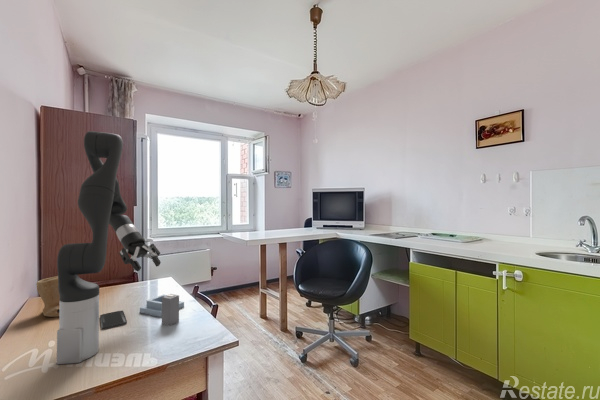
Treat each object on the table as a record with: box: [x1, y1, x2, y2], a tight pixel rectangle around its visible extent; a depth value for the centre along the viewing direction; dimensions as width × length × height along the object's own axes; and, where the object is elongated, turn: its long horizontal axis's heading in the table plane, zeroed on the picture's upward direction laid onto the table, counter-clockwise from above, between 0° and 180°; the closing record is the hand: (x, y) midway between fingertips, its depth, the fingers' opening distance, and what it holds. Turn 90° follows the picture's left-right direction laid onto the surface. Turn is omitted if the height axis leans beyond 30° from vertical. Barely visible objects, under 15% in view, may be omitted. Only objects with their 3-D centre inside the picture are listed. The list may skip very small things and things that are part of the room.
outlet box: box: [139, 294, 185, 318], centre depth 116 cm, size 12×12×4 cm
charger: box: [161, 293, 180, 327], centre depth 103 cm, size 4×4×10 cm
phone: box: [99, 310, 128, 331], centre depth 105 cm, size 8×1×15 cm
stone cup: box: [36, 275, 60, 318], centre depth 113 cm, size 15×12×15 cm
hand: (149, 267), depth 108 cm, fingers open, 8 cm apart
